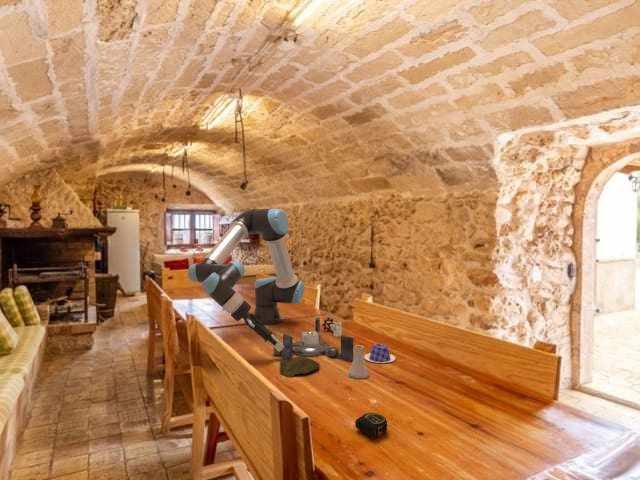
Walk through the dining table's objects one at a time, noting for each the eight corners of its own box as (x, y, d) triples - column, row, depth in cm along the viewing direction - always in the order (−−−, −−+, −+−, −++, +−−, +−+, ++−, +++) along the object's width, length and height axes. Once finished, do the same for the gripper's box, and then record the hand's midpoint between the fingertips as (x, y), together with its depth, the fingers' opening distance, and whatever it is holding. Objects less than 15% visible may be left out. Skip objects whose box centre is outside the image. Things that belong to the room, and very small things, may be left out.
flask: (371, 372, 140) (371, 344, 140) (366, 380, 133) (367, 350, 133) (351, 370, 142) (351, 342, 142) (345, 377, 136) (345, 348, 135)
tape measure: (353, 431, 101) (353, 416, 101) (374, 423, 105) (374, 409, 105) (372, 443, 95) (372, 427, 95) (393, 434, 99) (393, 419, 99)
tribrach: (279, 338, 183) (279, 318, 182) (333, 335, 187) (332, 316, 187) (288, 366, 147) (288, 341, 146) (353, 361, 151) (353, 337, 151)
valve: (345, 336, 186) (334, 330, 197) (345, 322, 186) (334, 316, 197) (333, 337, 183) (321, 331, 194) (333, 323, 183) (321, 318, 194)
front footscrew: (271, 354, 160) (271, 331, 160) (280, 352, 163) (280, 330, 162) (286, 361, 151) (286, 338, 151) (296, 359, 154) (296, 336, 153)
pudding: (402, 360, 153) (402, 347, 153) (378, 367, 146) (378, 352, 146) (381, 352, 163) (381, 339, 163) (357, 357, 157) (357, 344, 156)
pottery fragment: (323, 376, 138) (323, 364, 138) (281, 379, 135) (281, 366, 135) (316, 362, 151) (316, 351, 151) (278, 365, 149) (278, 353, 149)
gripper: (230, 310, 157) (273, 350, 160) (229, 318, 144) (275, 361, 147) (244, 296, 157) (286, 337, 161) (244, 303, 144) (290, 346, 148)
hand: (281, 348), depth 154 cm, fingers closed
